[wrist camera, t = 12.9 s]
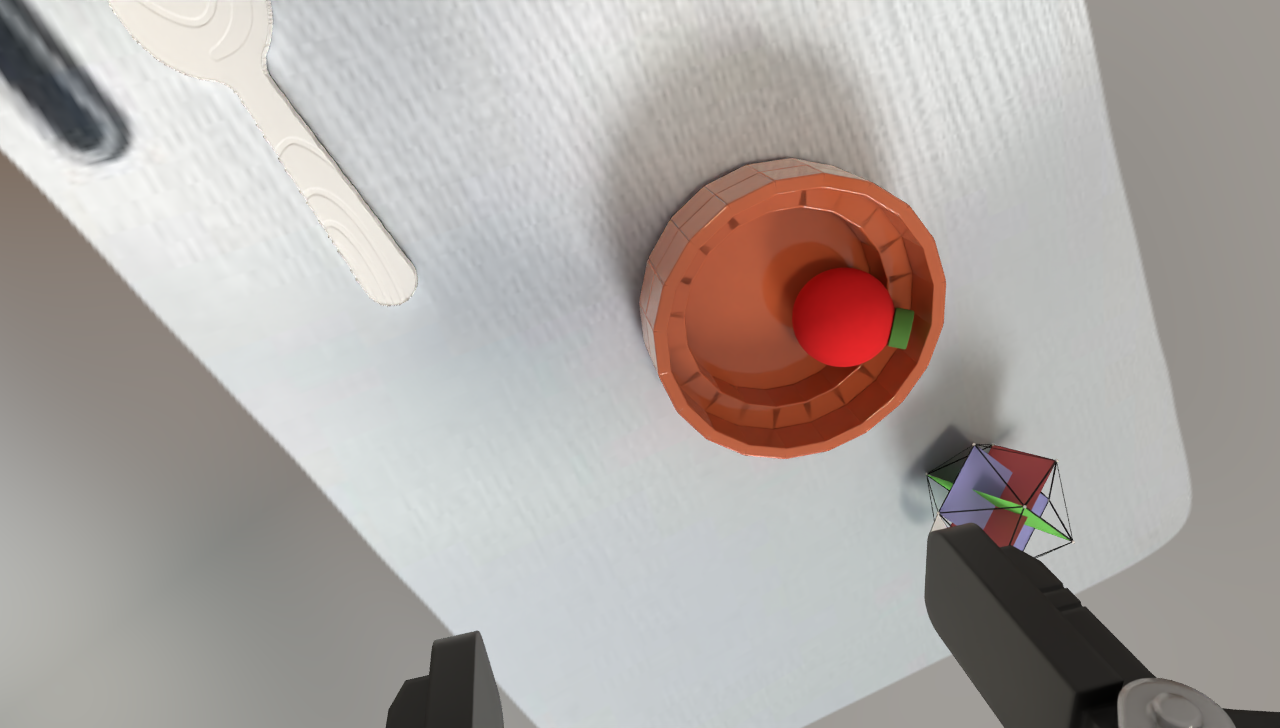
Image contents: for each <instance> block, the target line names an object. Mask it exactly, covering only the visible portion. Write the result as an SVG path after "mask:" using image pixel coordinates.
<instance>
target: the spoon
mask: <svg viewBox="0 0 1280 728" xmlns="http://www.w3.org/2000/svg"><path fill="white" fill-rule="evenodd" d="M108 1H109V3H110V4H109V6H110V7H111V8H112V11H113V13H115V14H116V16H117V17H118V18H119V20H120V21H121V23H122V24H123V25H124V27H125V28H126V29H127V31H128V32H129V33H130V34H131V36H132V38H133V40H136V41H137V43H138V44H141V45H142V47H143V49H145V50H146V51H149V53H150V54H151V55H153V56H154V58H156V60H159V62H161V63H164V65H166V66H169V67H171V68H172V69H175V71H179V73H183V74H185V75H187V76H190V77H194V78H198V79H199V80H207V81H215V82H219V83H222V84H224V85H226V86H228V87H230V88H231V89H233V91H234V93H237V95H238V96H239V97H240V99H241V103H242V104H243V105H244V107H245V108H246V109H247V110H248V111H249V113H250V114H251V116H252V117H253V119H254V120H255V121H256V123H257V124H256V126H257V127H258V128H259V129H260V131H261V132H262V133H263V134H264V136H263V137H264V138H265V139H266V141H267V142H268V143H269V144H270V146H271V147H272V149H273V150H274V151H275V152H276V154H277V155H278V156H279V158H278V160H279V161H280V162H281V163H282V164H283V166H284V167H285V171H286V172H287V173H288V175H289V176H290V177H291V178H292V180H293V181H294V183H295V184H296V185H297V187H298V188H299V189H300V190H299V192H300V193H301V194H302V195H303V197H304V198H305V199H306V200H307V202H306V204H308V206H309V207H310V208H311V209H312V211H313V212H314V214H315V215H316V217H317V218H318V219H319V220H318V222H319V223H320V224H321V225H322V226H323V227H324V229H325V230H326V232H327V233H328V238H331V239H332V243H333V244H334V245H335V246H336V247H337V248H338V251H337V252H338V253H340V255H341V256H342V257H343V259H344V260H345V261H346V263H347V264H348V266H349V267H350V268H351V269H350V271H351V272H352V273H353V274H354V276H355V277H356V281H357V282H358V283H359V284H360V285H361V287H362V288H363V289H364V291H365V292H366V293H367V295H368V296H369V298H372V299H373V300H374V302H378V303H379V304H381V305H383V306H384V305H385V306H386V305H387V307H388V306H391V305H394V306H395V305H396V306H397V305H398V304H399V306H400V305H401V304H402V303H404V302H406V301H408V300H409V299H410V297H412V296H413V294H414V292H415V290H416V288H417V285H418V277H417V273H416V269H415V267H414V266H413V264H412V263H411V261H410V260H409V259H407V257H406V256H405V254H404V253H403V251H401V250H400V248H399V247H398V245H397V244H396V243H395V241H394V240H393V238H392V237H391V235H390V234H389V232H387V231H386V229H385V228H384V226H383V225H382V224H381V222H380V221H379V219H378V218H377V216H375V215H374V213H373V212H372V210H371V209H370V208H369V206H368V205H367V203H365V202H364V200H363V199H362V197H361V196H360V195H359V193H358V192H357V190H356V189H355V187H354V186H352V184H351V183H350V181H349V180H348V179H347V177H345V176H344V174H343V173H342V171H341V170H340V169H339V167H338V166H337V164H336V163H335V161H334V160H333V158H332V157H331V156H329V154H328V153H327V151H326V150H325V148H324V147H323V145H322V146H321V144H320V143H319V141H318V140H317V138H316V137H315V135H314V134H313V132H312V131H311V129H310V128H309V127H308V125H306V124H305V122H304V121H303V120H302V118H301V117H300V115H299V114H297V113H296V111H295V110H294V108H293V107H292V105H291V104H290V102H289V101H288V99H287V98H286V96H285V95H284V94H283V92H281V91H280V89H279V88H278V87H277V85H276V84H275V82H274V81H273V79H272V78H271V76H270V75H269V72H268V70H267V65H266V59H267V58H266V54H267V52H268V50H269V47H270V43H271V36H272V29H273V19H272V17H273V15H272V8H271V7H272V6H271V3H270V2H271V1H270V0H108Z"/></svg>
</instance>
